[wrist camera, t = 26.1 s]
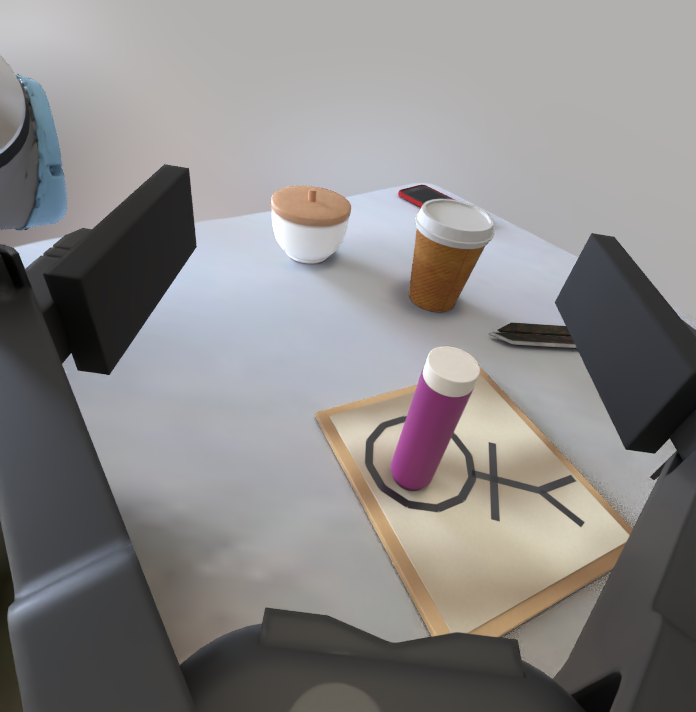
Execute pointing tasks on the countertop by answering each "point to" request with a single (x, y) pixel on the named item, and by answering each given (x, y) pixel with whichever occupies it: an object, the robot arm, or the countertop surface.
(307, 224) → the lidded sugar bowl
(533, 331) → the knife
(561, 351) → the countertop surface
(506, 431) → the drawing board
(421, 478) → the dot marker
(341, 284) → the countertop surface
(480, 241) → the disposable coffee cup
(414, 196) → the cell phone
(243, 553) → the countertop surface
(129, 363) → the countertop surface
